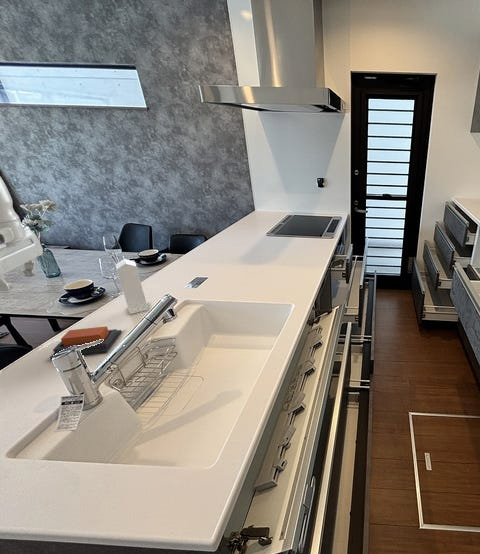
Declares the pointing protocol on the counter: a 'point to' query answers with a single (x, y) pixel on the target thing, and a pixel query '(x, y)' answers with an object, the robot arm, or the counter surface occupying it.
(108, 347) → the base pad
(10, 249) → the robot arm
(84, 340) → the top pad
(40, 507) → the counter surface
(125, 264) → the milk
